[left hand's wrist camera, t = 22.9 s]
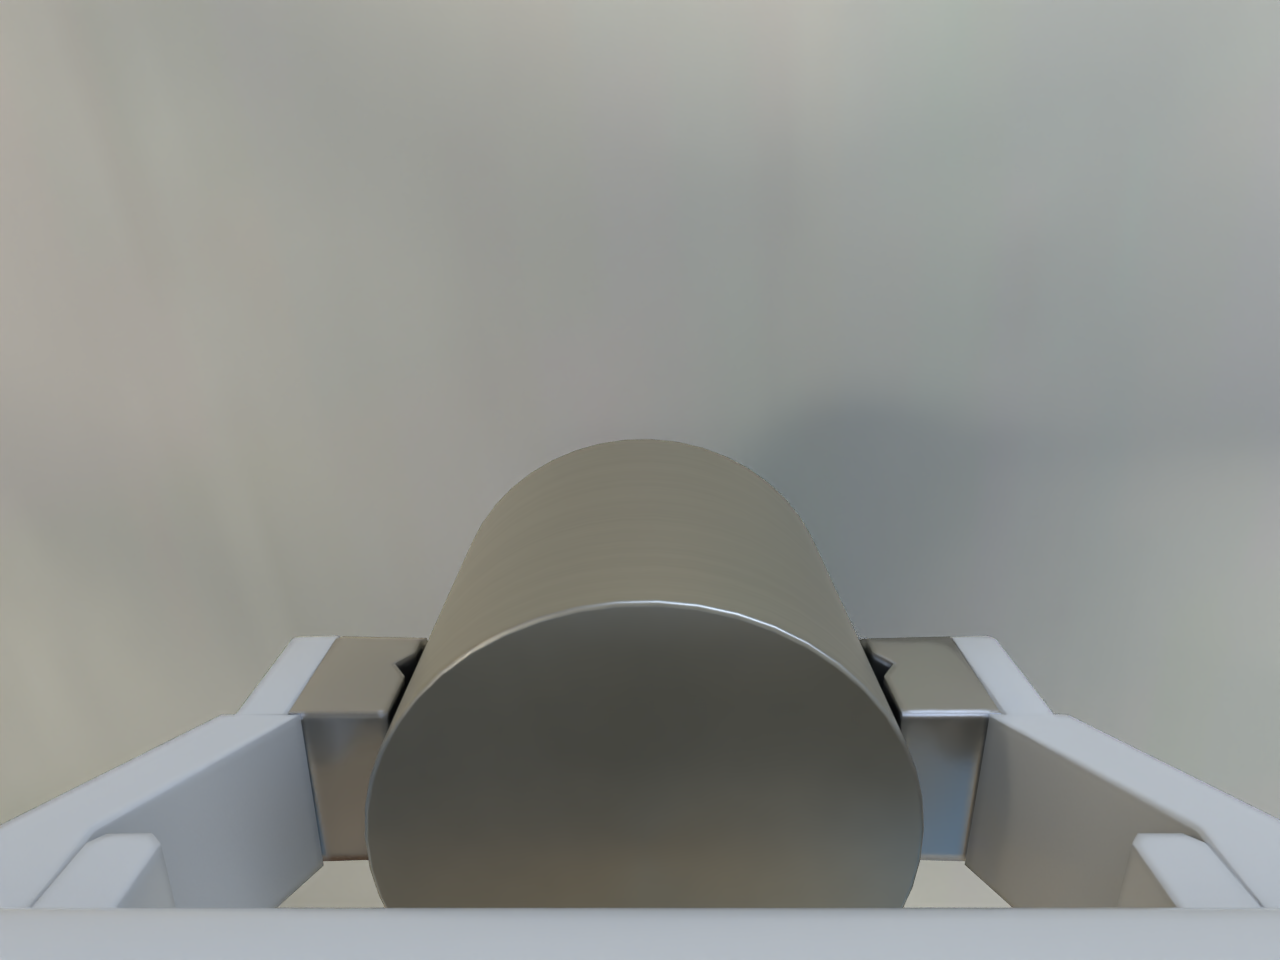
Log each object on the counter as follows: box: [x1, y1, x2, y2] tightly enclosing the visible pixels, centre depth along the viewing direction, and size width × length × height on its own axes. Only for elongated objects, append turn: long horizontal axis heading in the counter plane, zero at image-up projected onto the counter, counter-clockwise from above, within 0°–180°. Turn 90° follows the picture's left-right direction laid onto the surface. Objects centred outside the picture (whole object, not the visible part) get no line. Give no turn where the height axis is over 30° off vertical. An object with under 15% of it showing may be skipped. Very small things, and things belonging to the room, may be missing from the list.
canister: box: [365, 439, 924, 908], centre depth 10 cm, size 5×5×4 cm
